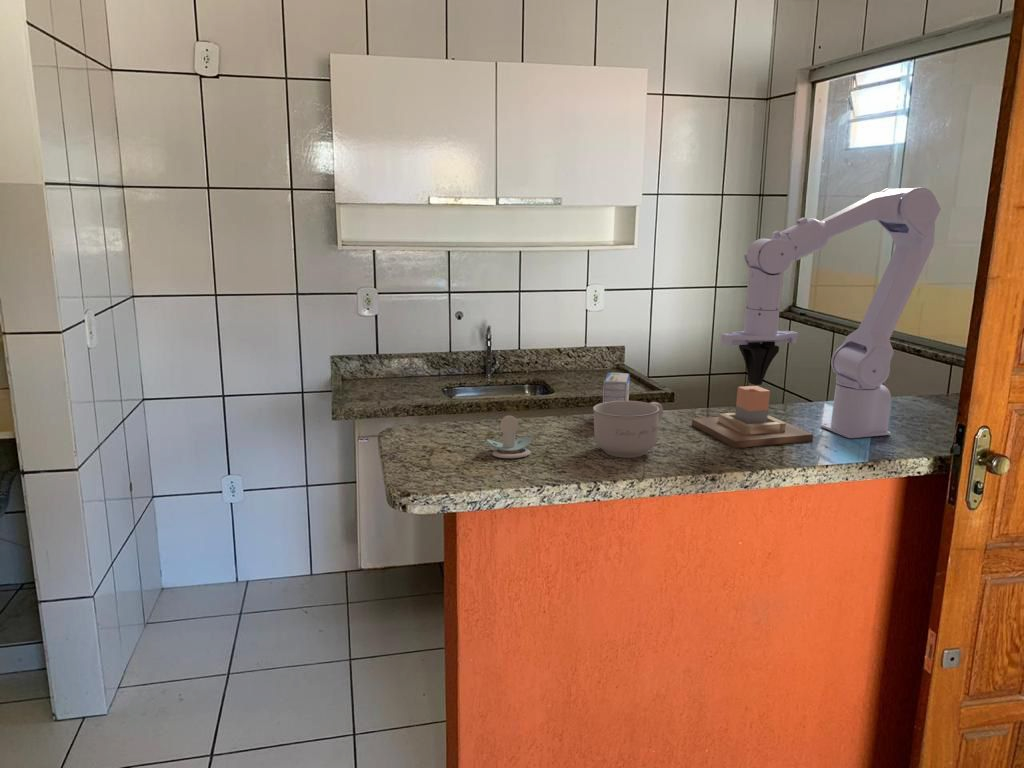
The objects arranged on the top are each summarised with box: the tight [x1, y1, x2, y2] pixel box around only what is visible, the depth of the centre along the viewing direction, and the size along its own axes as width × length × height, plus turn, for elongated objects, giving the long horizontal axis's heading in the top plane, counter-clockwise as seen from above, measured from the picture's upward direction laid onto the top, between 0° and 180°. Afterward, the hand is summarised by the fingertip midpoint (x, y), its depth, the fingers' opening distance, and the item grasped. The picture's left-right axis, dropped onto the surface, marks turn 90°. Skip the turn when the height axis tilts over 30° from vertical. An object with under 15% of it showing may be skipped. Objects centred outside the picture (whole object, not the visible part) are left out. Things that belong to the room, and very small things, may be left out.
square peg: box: [734, 385, 771, 424], centre depth 138 cm, size 4×4×7 cm
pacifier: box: [486, 415, 532, 459], centre depth 124 cm, size 7×6×6 cm
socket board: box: [691, 412, 814, 449], centre depth 139 cm, size 16×14×3 cm
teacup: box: [592, 400, 664, 459], centre depth 127 cm, size 14×11×8 cm
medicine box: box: [602, 372, 631, 403], centre depth 144 cm, size 8×4×9 cm, turn 168°
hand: (755, 383), depth 137 cm, fingers closed
